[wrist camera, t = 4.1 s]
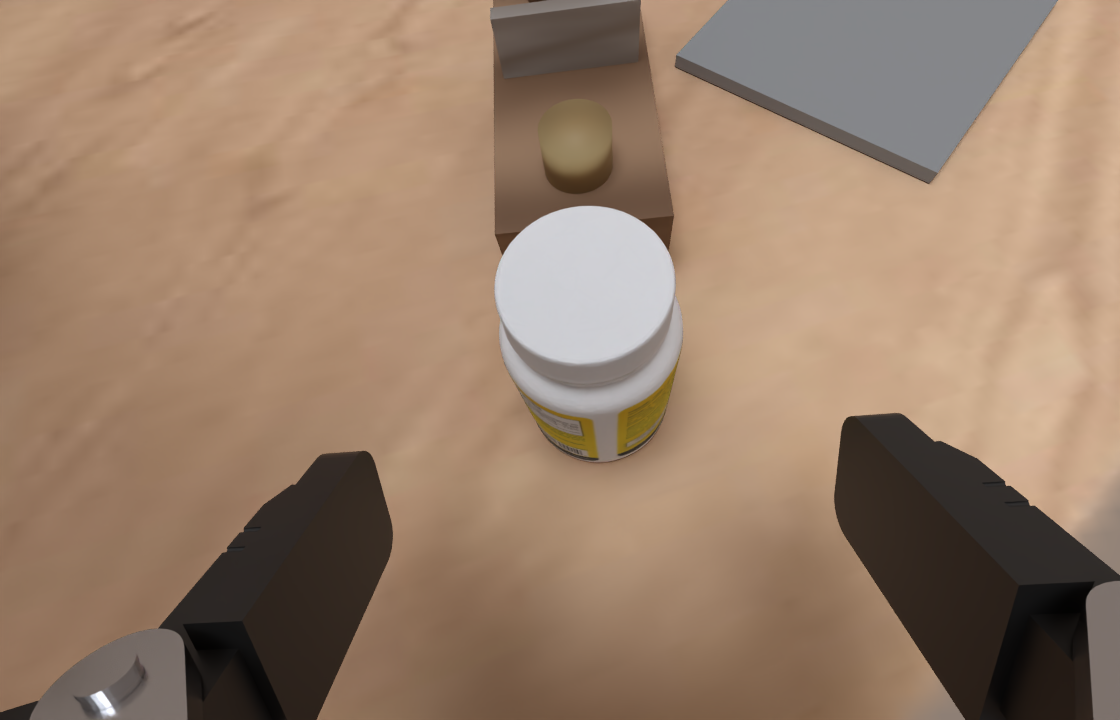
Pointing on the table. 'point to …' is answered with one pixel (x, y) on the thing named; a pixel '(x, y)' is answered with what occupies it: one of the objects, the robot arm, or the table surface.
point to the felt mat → (869, 67)
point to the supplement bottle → (590, 329)
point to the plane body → (575, 114)
